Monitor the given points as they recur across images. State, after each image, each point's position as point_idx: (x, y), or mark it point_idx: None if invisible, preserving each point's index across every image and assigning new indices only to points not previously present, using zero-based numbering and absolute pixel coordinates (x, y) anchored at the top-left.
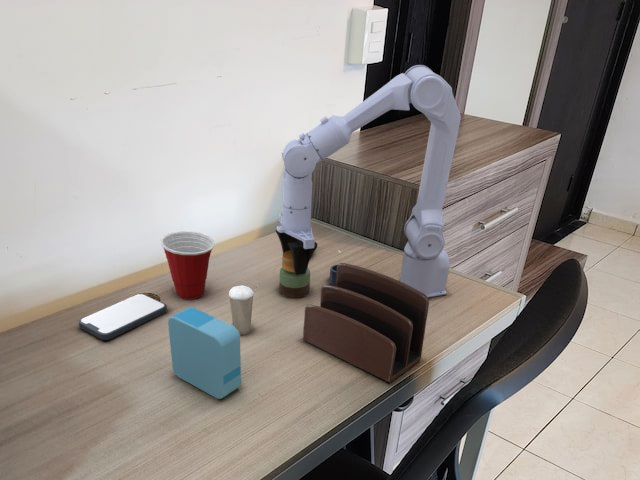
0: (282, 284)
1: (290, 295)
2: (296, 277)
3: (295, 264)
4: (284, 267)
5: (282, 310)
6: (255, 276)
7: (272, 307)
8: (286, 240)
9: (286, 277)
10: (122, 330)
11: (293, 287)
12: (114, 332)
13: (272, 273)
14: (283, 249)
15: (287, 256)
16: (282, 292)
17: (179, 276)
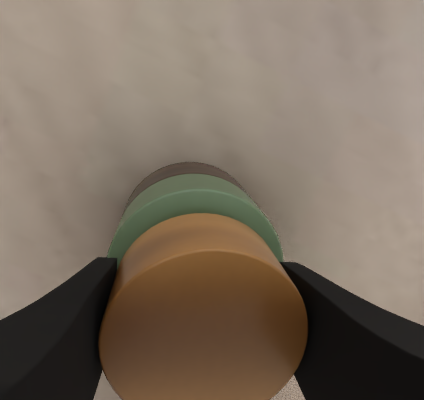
0: (177, 175)
1: (136, 189)
2: (110, 251)
3: (55, 290)
4: (183, 219)
5: (33, 102)
6: (388, 124)
7: (77, 68)
8: (367, 383)
9: (146, 201)
10: None
11: (123, 214)
12: None
13: (373, 204)
14: (328, 298)
15: (212, 283)
16: (174, 166)
17: None
